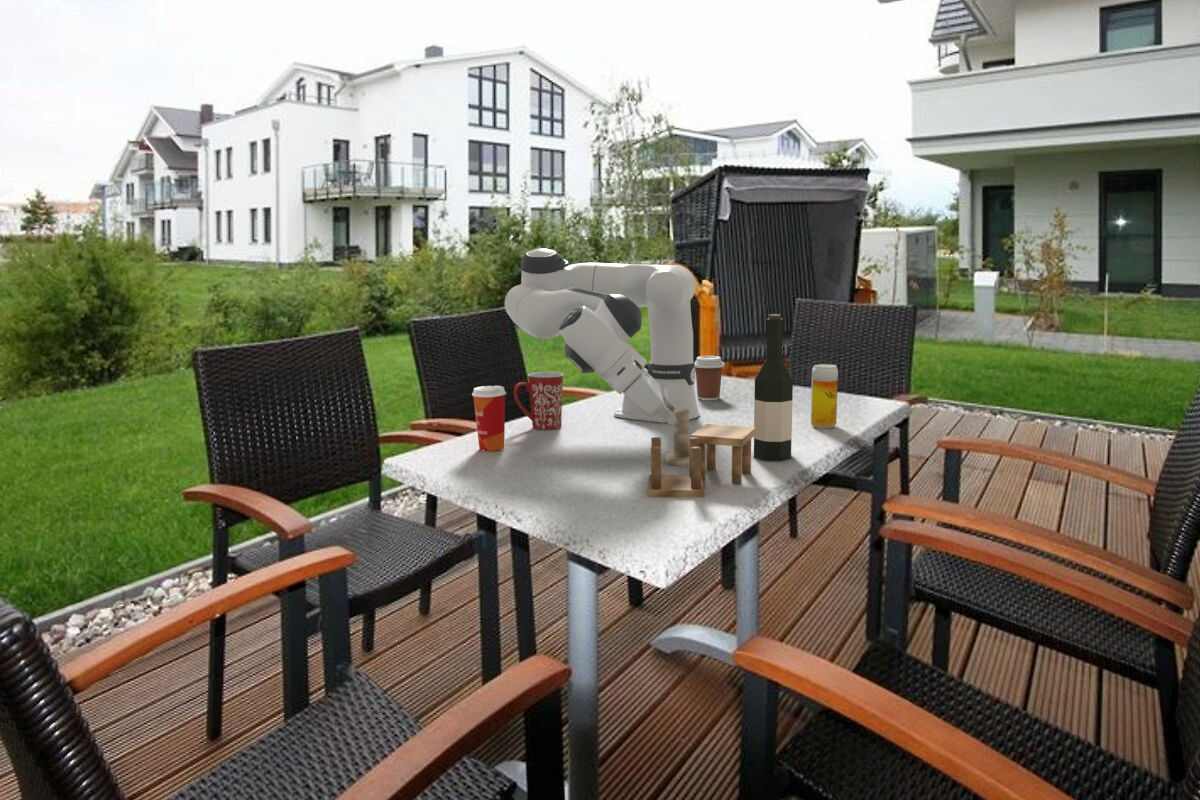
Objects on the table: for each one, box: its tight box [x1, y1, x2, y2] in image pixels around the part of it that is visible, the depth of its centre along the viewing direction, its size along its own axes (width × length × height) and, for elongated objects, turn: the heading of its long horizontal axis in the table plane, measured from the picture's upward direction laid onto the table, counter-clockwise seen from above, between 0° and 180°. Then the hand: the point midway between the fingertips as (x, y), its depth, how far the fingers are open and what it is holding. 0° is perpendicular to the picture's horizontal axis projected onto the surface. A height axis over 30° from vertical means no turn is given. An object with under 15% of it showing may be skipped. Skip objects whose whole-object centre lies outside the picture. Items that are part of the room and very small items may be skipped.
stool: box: [690, 423, 756, 485], centre depth 158 cm, size 10×10×9 cm
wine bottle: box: [753, 313, 794, 462], centre depth 169 cm, size 8×8×30 cm
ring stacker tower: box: [665, 409, 690, 467], centre depth 168 cm, size 7×7×11 cm
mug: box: [513, 371, 564, 431], centre depth 203 cm, size 13×9×14 cm
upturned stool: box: [647, 436, 705, 498], centre depth 150 cm, size 10×10×9 cm
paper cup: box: [471, 385, 507, 452], centre depth 182 cm, size 8×8×14 cm
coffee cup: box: [693, 355, 725, 401], centre depth 235 cm, size 9×9×12 cm
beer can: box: [810, 363, 839, 429], centre depth 196 cm, size 6×6×15 cm
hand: (673, 416), depth 167 cm, fingers open, 8 cm apart
